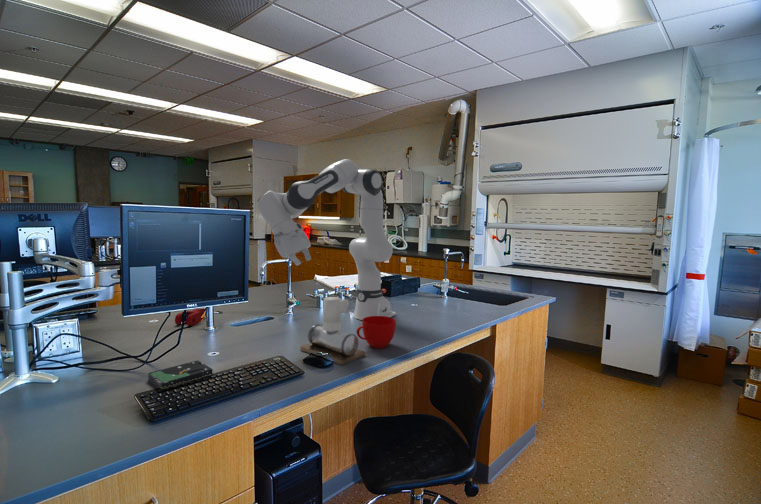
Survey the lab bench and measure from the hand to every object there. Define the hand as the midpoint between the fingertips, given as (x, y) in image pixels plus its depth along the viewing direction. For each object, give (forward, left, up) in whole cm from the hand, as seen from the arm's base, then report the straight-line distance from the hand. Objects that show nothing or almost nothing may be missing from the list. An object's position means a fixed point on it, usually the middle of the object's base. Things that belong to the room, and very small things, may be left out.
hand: (304, 262), depth 151 cm
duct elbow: (0, +17, -23) cm, 28 cm away
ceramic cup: (-16, +22, -32) cm, 42 cm away
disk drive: (+46, -2, -32) cm, 56 cm away
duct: (0, +16, -32) cm, 35 cm away
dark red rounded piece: (+14, -59, -32) cm, 68 cm away
